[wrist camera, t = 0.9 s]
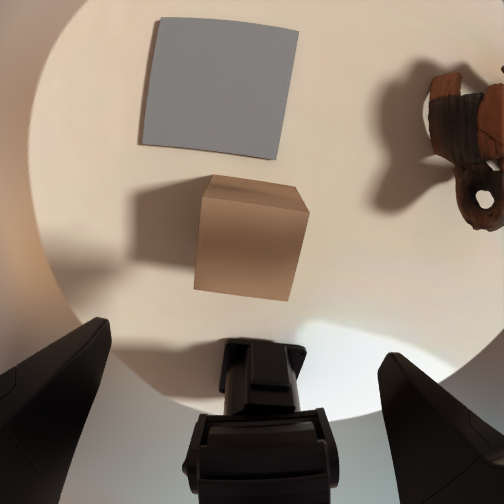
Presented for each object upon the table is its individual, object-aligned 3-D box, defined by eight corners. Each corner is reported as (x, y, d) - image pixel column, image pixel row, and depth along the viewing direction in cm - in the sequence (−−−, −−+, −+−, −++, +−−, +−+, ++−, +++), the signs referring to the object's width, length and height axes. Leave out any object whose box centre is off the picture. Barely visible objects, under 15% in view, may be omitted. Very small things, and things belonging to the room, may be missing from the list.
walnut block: (279, 258, 21) (287, 301, 17) (205, 248, 21) (193, 289, 16) (295, 186, 19) (309, 212, 15) (213, 174, 19) (202, 196, 14)
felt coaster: (275, 159, 18) (276, 160, 18) (144, 143, 18) (142, 144, 17) (297, 32, 15) (298, 31, 14) (162, 19, 14) (160, 17, 14)
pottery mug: (428, 35, 15) (539, 38, 8) (473, 102, 20) (555, 116, 13) (398, 198, 17) (529, 238, 10) (449, 230, 22) (535, 262, 15)
